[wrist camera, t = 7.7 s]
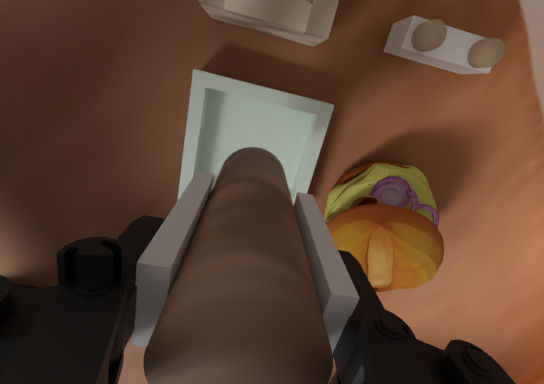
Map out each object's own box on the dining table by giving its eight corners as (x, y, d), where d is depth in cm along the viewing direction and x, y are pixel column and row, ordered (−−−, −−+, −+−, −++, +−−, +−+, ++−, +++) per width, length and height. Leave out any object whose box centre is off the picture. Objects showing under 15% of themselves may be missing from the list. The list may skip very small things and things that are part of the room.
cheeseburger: (445, 200, 27) (506, 283, 19) (355, 249, 32) (371, 332, 24) (388, 128, 24) (430, 190, 15) (297, 195, 29) (292, 269, 20)
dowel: (215, 201, 17) (138, 417, 6) (226, 140, 16) (150, 282, 5) (276, 213, 18) (303, 432, 7) (292, 155, 16) (360, 314, 5)
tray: (184, 191, 25) (177, 202, 23) (200, 69, 21) (193, 69, 19) (293, 212, 27) (297, 224, 24) (326, 102, 23) (334, 105, 21)
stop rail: (382, 51, 22) (408, 46, 18) (392, 23, 21) (421, 11, 17) (460, 74, 23) (499, 73, 19) (472, 47, 22) (515, 41, 18)
